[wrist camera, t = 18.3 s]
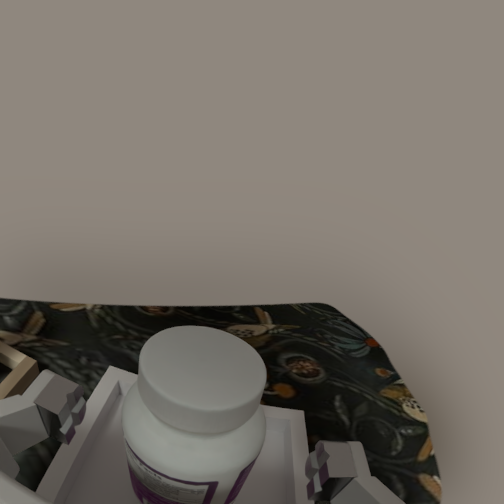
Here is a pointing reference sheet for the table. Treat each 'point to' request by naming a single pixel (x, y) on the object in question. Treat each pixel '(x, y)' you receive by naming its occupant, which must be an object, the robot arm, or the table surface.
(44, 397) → the robot arm
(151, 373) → the pill bottle
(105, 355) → the table surface
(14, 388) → the light wood flat frame
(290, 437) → the grey tray
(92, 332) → the table surface
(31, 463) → the table surface
